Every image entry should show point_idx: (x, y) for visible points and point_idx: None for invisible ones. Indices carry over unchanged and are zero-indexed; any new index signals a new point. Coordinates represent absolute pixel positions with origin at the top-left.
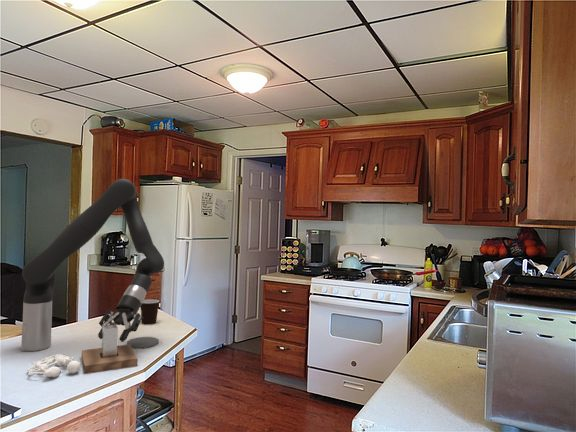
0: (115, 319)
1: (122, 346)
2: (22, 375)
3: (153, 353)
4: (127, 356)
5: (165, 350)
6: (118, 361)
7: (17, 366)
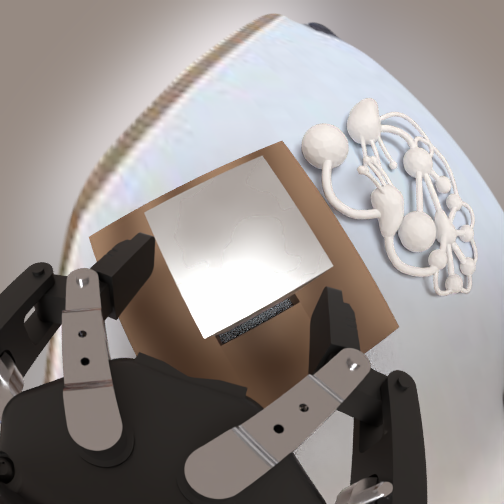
0: (239, 412)
1: None
2: None
3: None
4: None
5: None
6: (160, 197)
7: (491, 221)
